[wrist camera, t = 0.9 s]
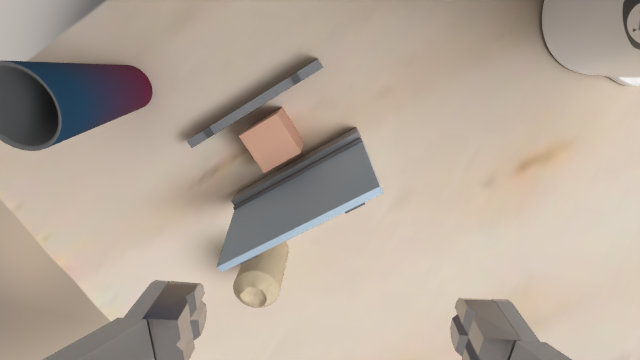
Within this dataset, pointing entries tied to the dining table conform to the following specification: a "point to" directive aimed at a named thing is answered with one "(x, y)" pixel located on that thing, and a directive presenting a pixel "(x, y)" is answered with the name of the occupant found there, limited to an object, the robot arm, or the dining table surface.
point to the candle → (262, 277)
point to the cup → (64, 99)
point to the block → (272, 140)
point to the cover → (300, 203)
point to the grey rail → (293, 166)
